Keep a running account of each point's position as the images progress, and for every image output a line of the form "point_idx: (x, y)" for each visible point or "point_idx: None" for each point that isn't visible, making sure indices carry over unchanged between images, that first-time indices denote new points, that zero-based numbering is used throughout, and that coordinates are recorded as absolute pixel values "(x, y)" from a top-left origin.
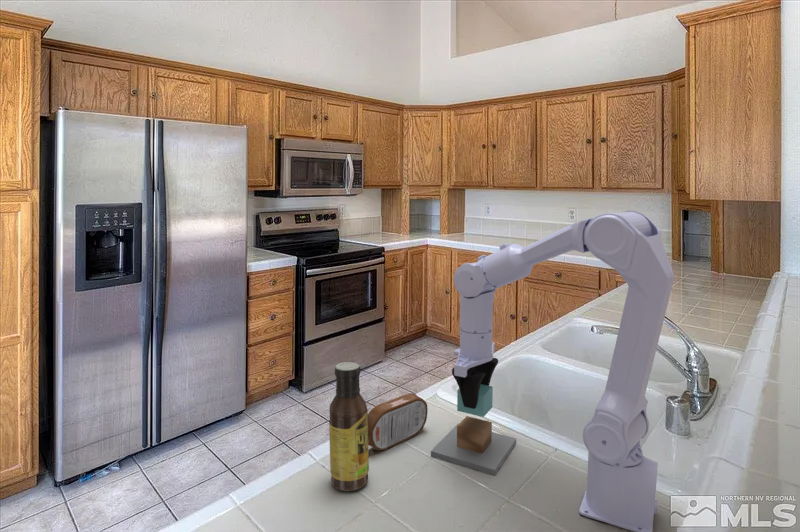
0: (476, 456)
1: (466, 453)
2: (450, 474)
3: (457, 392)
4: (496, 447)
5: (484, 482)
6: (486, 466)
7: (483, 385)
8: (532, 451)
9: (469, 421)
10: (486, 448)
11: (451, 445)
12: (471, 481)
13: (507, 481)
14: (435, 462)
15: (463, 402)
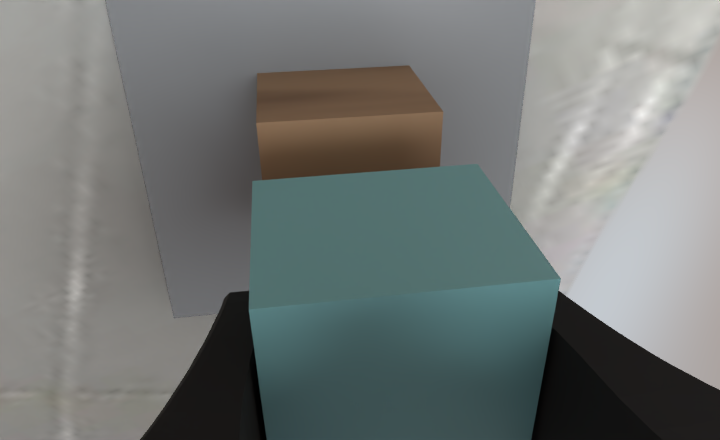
0: (227, 209)
1: (220, 155)
2: (31, 140)
3: (249, 289)
4: None
5: (98, 289)
6: (175, 280)
7: (514, 437)
8: None
9: (368, 167)
10: None
11: (245, 40)
12: (60, 245)
13: (174, 349)
14: (66, 9)
15: (216, 319)
